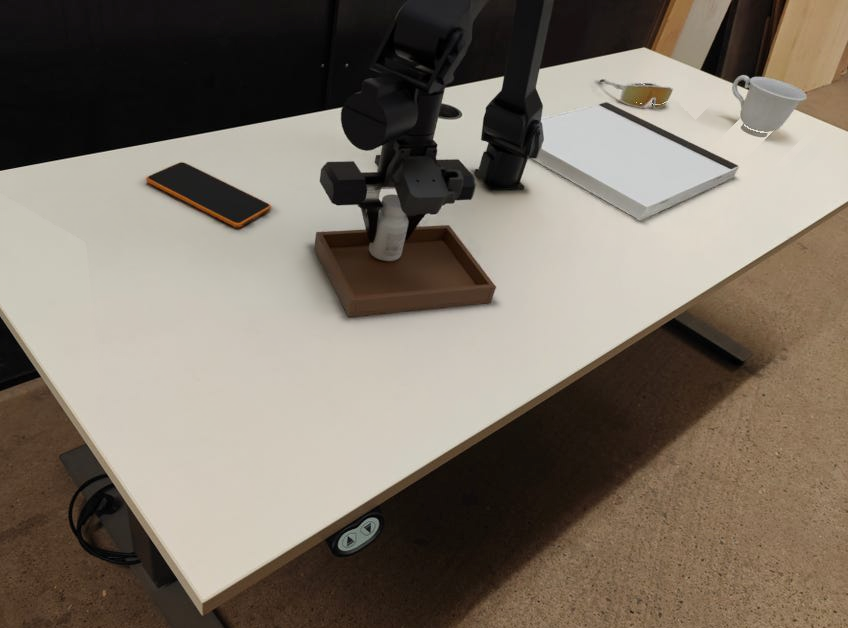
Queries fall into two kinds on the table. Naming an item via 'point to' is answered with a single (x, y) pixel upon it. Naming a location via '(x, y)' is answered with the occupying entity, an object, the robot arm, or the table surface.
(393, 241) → the pill bottle
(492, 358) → the table surface
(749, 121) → the teacup
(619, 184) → the white flat slab
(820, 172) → the table surface
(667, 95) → the sunglasses
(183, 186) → the smartphone
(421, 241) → the tray
